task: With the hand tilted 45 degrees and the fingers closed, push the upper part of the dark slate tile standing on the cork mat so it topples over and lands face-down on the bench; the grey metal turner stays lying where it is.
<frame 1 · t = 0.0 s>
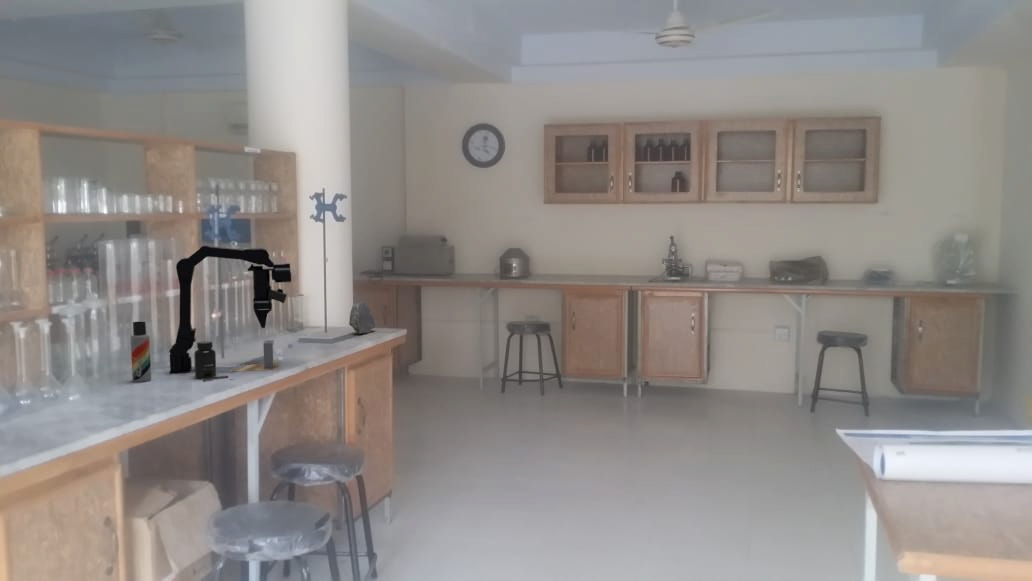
hand: (263, 326, 296), 15 cm above the lab bench, tool pointing down, fingers open, 9 cm apart
lotion bottle: (142, 381, 274), on the lab bench
slate tile: (269, 366, 295), resting on cork mat
metal turner: (227, 378, 277), on the lab bench
cork mat: (254, 368, 294), on the lab bench
decorative rock: (362, 333, 375), on the lab bench
supplement bottle: (205, 377, 279), on the lab bench
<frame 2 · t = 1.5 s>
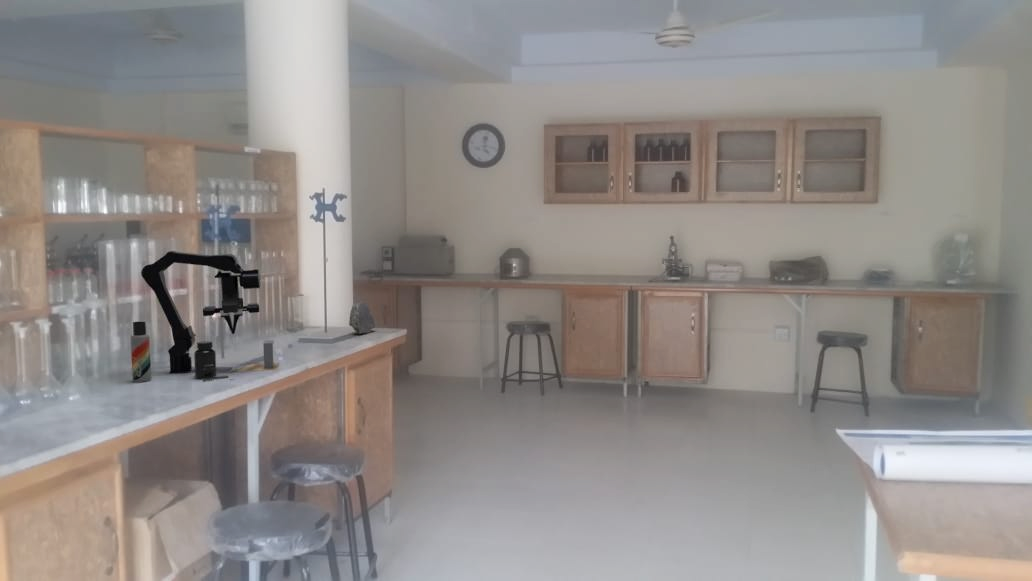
hand: (233, 333, 291), 13 cm above the lab bench, tool pointing down, fingers closed
nothing on the lab bench moved.
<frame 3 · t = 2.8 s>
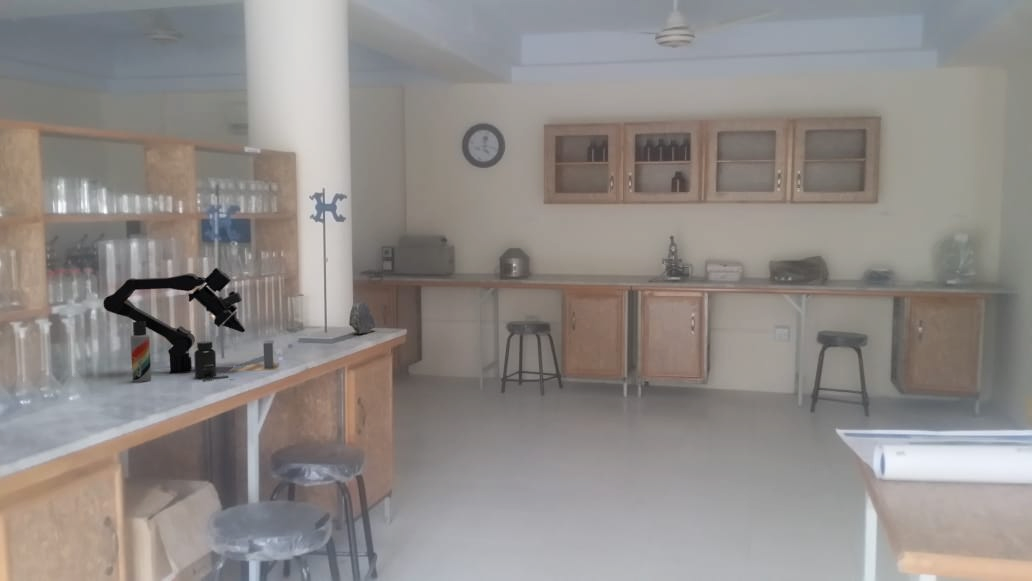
hand: (244, 331, 292), 13 cm above the lab bench, tool tilted 45°, fingers closed
nothing on the lab bench moved.
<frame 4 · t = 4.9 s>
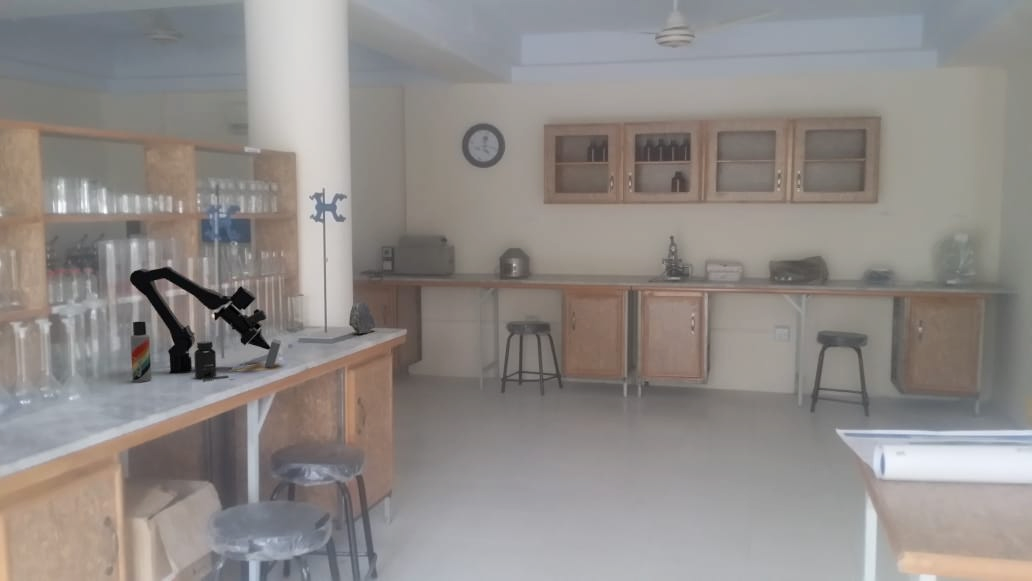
hand: (269, 348, 295), 7 cm above the lab bench, tool tilted 45°, fingers closed
slate tile: (269, 365, 295), point 1 cm above the lab bench, tilted 17°, touching cork mat
everything else where it was.
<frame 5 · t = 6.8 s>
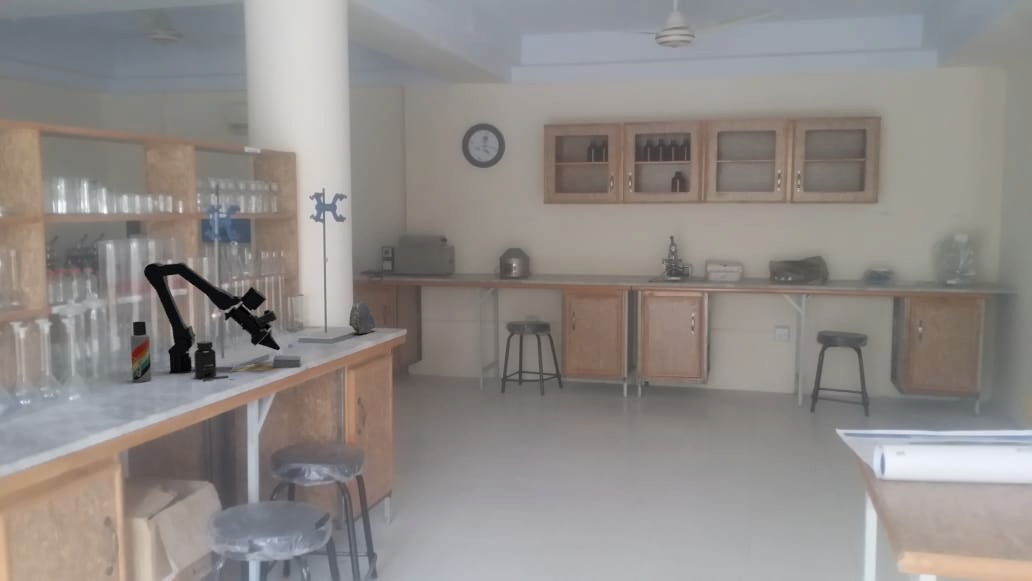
hand: (279, 349, 295), 7 cm above the lab bench, tool tilted 45°, fingers closed
slate tile: (274, 361, 295), point 2 cm above the lab bench, tilted 94°, touching cork mat
everything else where it was.
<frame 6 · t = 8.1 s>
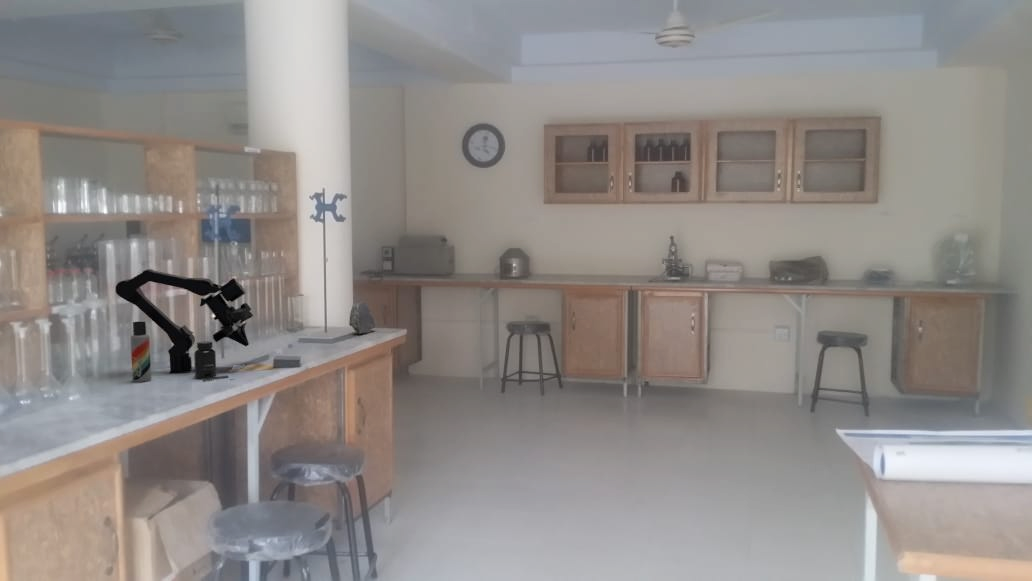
hand: (247, 345, 293), 8 cm above the lab bench, tool tilted 35°, fingers closed
nothing on the lab bench moved.
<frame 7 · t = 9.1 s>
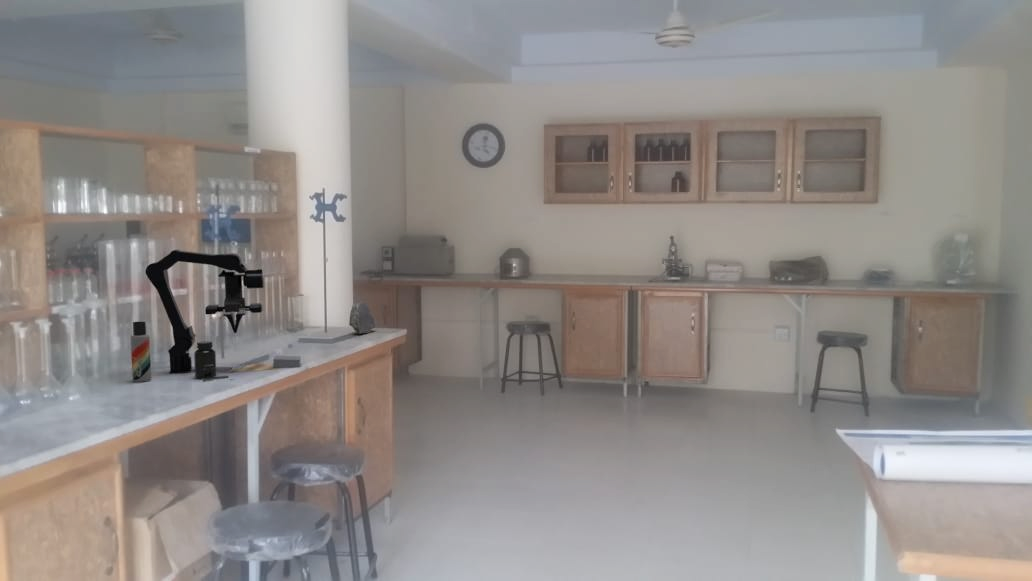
hand: (235, 332, 292), 13 cm above the lab bench, tool pointing down, fingers closed
nothing on the lab bench moved.
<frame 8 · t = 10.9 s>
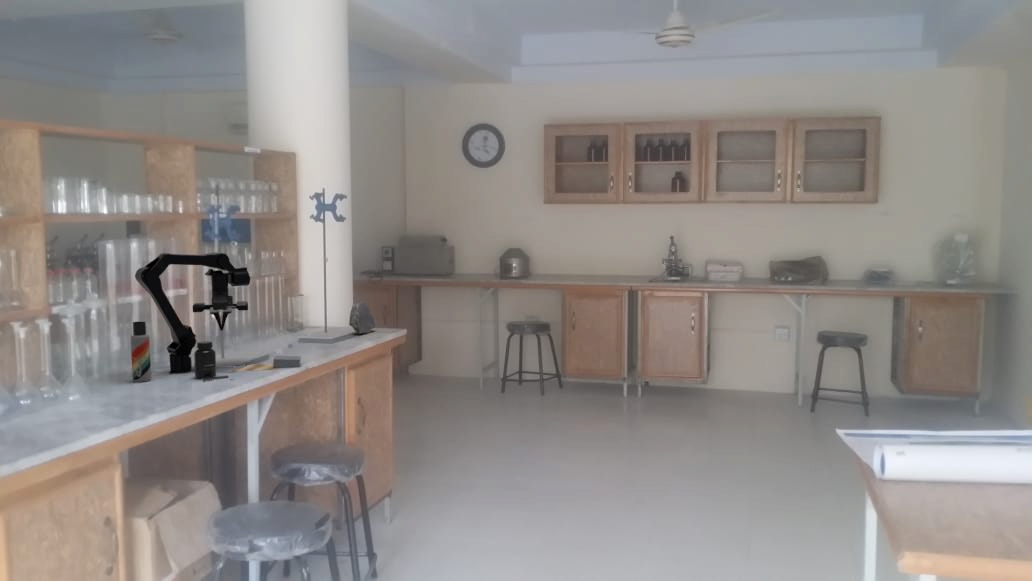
hand: (221, 330, 298), 13 cm above the lab bench, tool pointing down, fingers closed
nothing on the lab bench moved.
at the end: slate tile tilted 94°; slate tile point 2.1 cm above the lab bench; slate tile inside the target area (3.4 cm from its centre), point 2.1 cm above the lab bench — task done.
